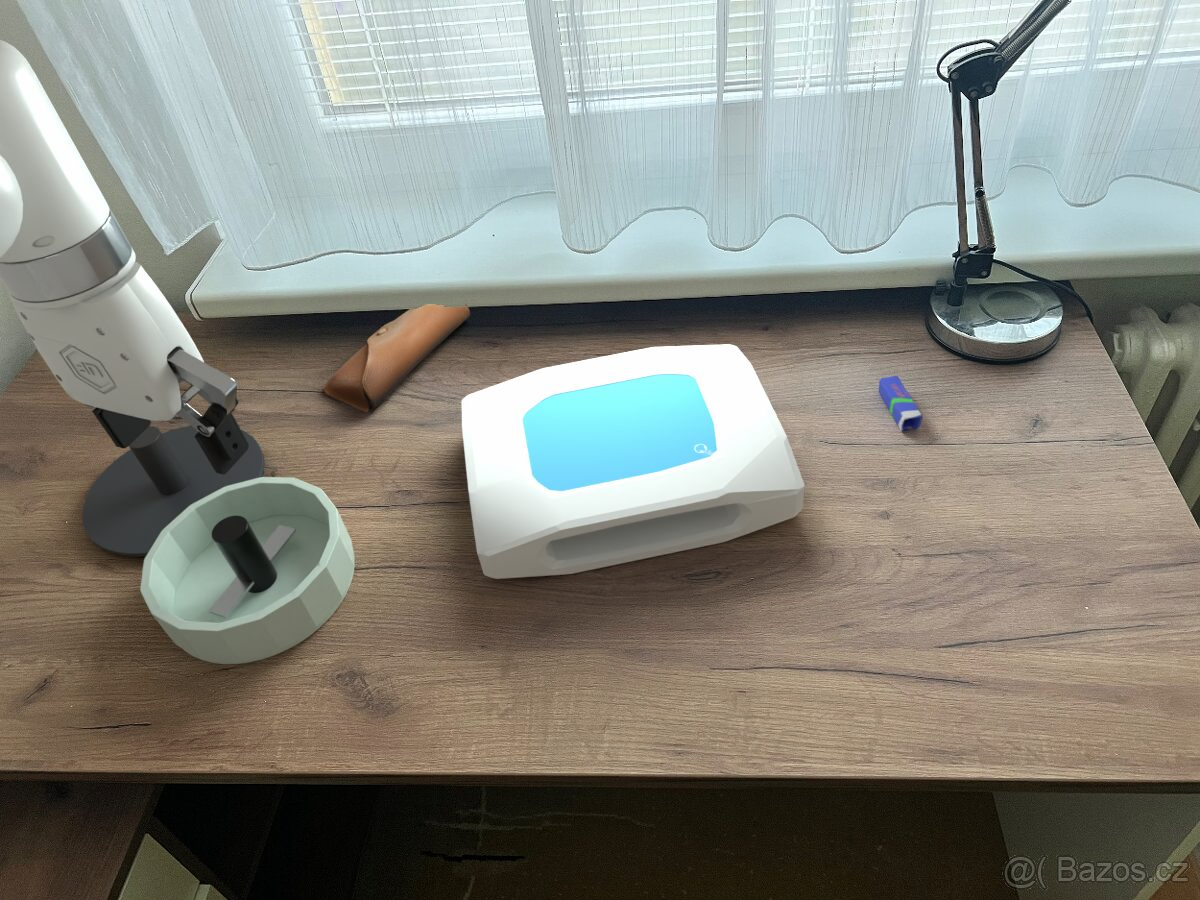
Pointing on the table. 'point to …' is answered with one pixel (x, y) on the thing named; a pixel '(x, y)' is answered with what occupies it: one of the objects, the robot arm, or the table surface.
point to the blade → (246, 559)
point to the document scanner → (624, 460)
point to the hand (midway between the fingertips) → (183, 448)
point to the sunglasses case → (392, 355)
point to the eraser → (899, 403)
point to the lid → (156, 488)
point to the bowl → (202, 574)
